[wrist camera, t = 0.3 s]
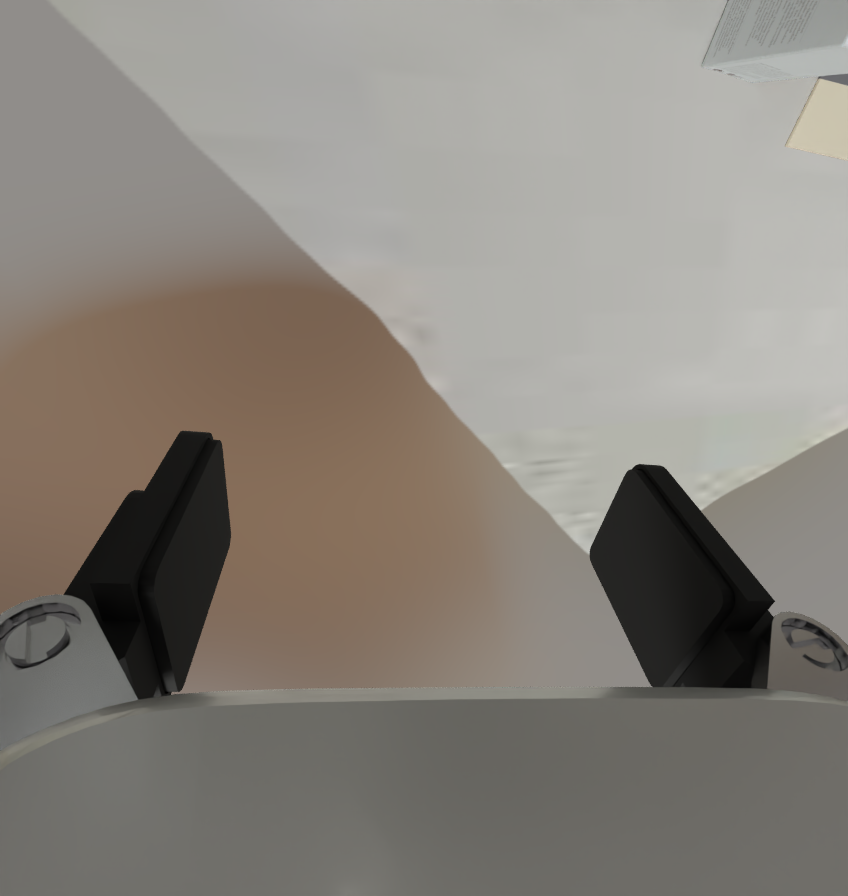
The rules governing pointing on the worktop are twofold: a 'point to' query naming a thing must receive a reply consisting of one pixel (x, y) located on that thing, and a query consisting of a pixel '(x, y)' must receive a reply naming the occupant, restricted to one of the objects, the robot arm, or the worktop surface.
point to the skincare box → (780, 40)
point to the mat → (824, 119)
